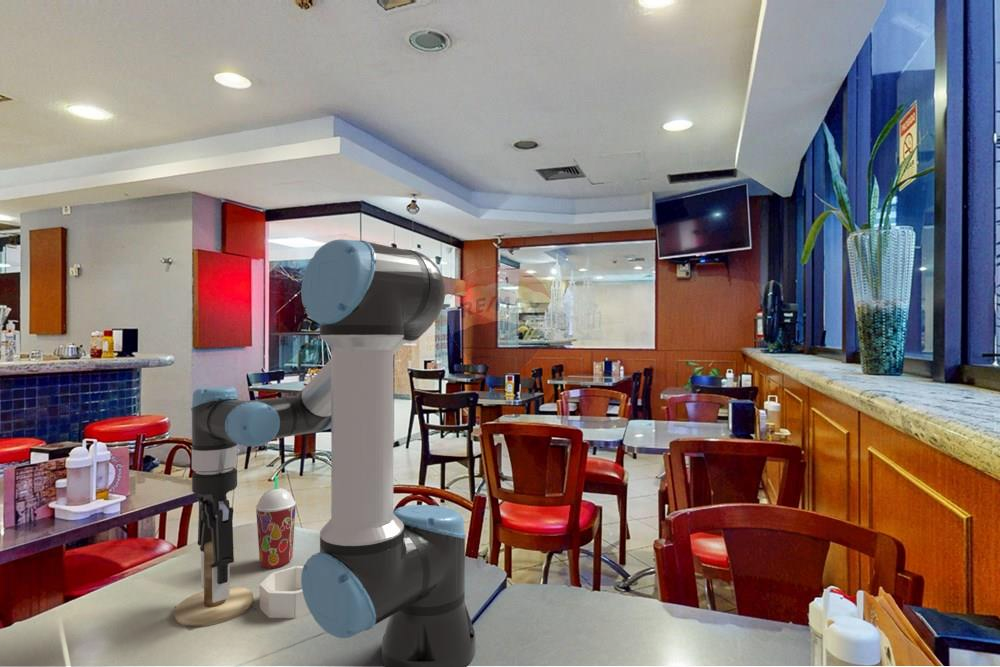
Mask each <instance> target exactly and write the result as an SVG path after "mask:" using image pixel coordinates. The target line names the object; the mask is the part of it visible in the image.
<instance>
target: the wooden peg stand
mask: <svg viewBox="0 0 1000 667" xmlns="http://www.w3.org/2000/svg"><path fill="white" fill-rule="evenodd" d="M211 564H214V555H213V544H212V541H211V542H208V543H206V544H205V545H204V588H203V591H200V592H197V593H195V594H192V595H191V596H189V597H187V598H185V599H183V600H182V601H180V602H179V603H178V604H177V605H176V606H175V607H176V608H175V607H174V620H175V621H176V623H178V624H180V625H182V626H186V627H187V626H202V627H207V626H212V625H217V624H221V623H225V622H227V621H230V620H232V619H235V618H237V617H239V616H241V615H243V614H244V612H245V611H247V610H248V609H249V608H250V607H251V605H253V603H254V594H253V592H252V591H251V590H250V589H248V588H245V587H241V586H230V598H227V599H224V600H221V601H217V602H214V603H213V602H212V568H210V565H211ZM245 613H246V612H245Z"/></svg>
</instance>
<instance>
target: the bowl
mask: <svg viewBox="0 0 1000 667" xmlns="http://www.w3.org/2000/svg"><path fill="white" fill-rule="evenodd" d="M303 567H304V565H294V566H291V567H289V568H283V569H282V570H277V571H274V572H271V573H270V574H269V575H267V577H265V579H263V581H261V582H260V583H259V609H260V610H261V611H262V612H263V613H264V614H265V616H267V618H269V619H270V618H271V619H296V618H297V619H298V618H301V617H303V616H305V615H308V614H309V615H310V614H311V613H310V611H309V609H308V607H307V604H306V602H305V599H304V595H303V591H302V584H301V575H302V570H303Z"/></svg>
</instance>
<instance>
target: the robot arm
mask: <svg viewBox="0 0 1000 667" xmlns="http://www.w3.org/2000/svg"><path fill="white" fill-rule="evenodd" d="M301 282H302V283H301V288H300V290H301V292H300V293H301V303H302V305H303V308H305V309H306V310H305V313H306V315H307V316H308V317H309V319H311V320H312V321H313V322H316V323H317V324H318V325H319V337H320V339H321V340H322V341H323V342H325V344H327V346H328V347H329V348H330V351H331V353H330V355H331V356H330V357H331V358H330V359H329V360H328V361H327V362H326V363H325V364H324V365H323V367H321V369H320V370H319V371H318V372H317V373H316V374H315V375H314V376H313V377H312V378H311V380H310V381H308V383H307V384H306V385H305V386H304V388H302V389H301V390H300V392H298V393H297V394H296V395H292V396H281V397H273V398H264V399H263V398H262V399H254V400H253V399H252V400H239V396H238V391H237V389H236V388H235V387H233V386H226V385H225V386H219V385H218V386H205V387H200V388H196V389H195V390H194V391H193V393H192V405H191V408H190V409H191V430H192V431H191V435H192V436H191V438H192V439H191V440H192V442H191V443H192V444H191V445H192V447H191V470H193V471H194V472H193V473H192V474H191V491H192V493H193V494H195V495H197V496H198V498H197V501H198V521H197V522H198V524H197V526H198V528H197V529H198V530H197V545H198V546H200V547H199V550H200V552H201V553H200V560H201V561H200V573H201V574H200V587H201V589H204V545H205V544H206V543H208V542H211V541H212V544H213V555H214V564H211V565H210V568H212V602H213V603H214V602H217V601H221V600H224V599H227V598H230V587H231V586H230V568H231V567H230V564H232V563H234V562H235V558H234V557H235V555H234V531H233V530H234V529H233V526H234V525H233V524H234V523H233V520H234V519H233V517H234V508H233V506H230V500H229V499H228V497H227V494H228V493H230V492H232V491H234V490H235V489H236V488H238V469H237V468H236V466H237V465H238V454H240V451H241V450H240V449H239V448H238V445H239V446H244V447H262V446H265V445H267V444H268V443H270V442H271V441H272V440H277V439H285V438H286V437H293V436H300V435H306V434H307V435H308V434H317V433H321V432H323V431H327V430H330V432H331V433H330V434H331V435H330V437H331V440H330V442H331V444H330V446H331V448H330V449H331V451H330V452H331V453H330V455H331V456H330V457H331V459H330V460H331V468H330V469H331V470H330V471H331V472H330V474H331V477H330V478H331V481H330V482H331V483H330V484H331V487H330V488H331V489H330V490H331V495H330V497H331V500H330V501H331V502H330V503H331V504H330V506H331V507H330V515H331V516H330V519H329V521H327V522H326V523H325V524H324V526H323V527H322V528H321V529H320V531H319V552H317V553H315V554H312V555H311V557H309V558H308V559H307V560H306V562H305V564H304V565H303V566H304V567H303V570H302V575H301V584H302V591H303V595H304V599H305V602H306V604H307V607H308V609H309V611H310V613H309V614H311V616H312V617H313V619H314V621H315V622H316V623H317V625H318V626H319V627H321V629H323V631H325V632H326V633H327V634H329V635H331V636H333V637H335V638H339V639H348V638H351V637H354V636H356V635H358V634H360V633H362V632H364V631H370V630H371V629H373V628H374V626H375V625H377V624H379V623H381V622H382V621H384V620H386V619H387V618H388V620H387V624H386V628H385V631H384V632H385V633H384V634H383V637H382V640H381V660H382V663H383V664H384V666H385V667H467V666H468V665H469V664H470V663H471V662H472V661H473V659H474V657H475V655H476V649H477V647H476V646H477V645H476V644H477V643H476V632H475V629H474V626H473V623H472V620H471V616H470V614H469V610H468V607H467V604H466V598H465V596H466V595H465V593H466V591H465V590H466V589H465V587H466V586H465V585H466V584H465V583H466V581H465V580H466V578H465V577H466V576H465V574H466V573H465V572H466V569H465V568H466V538H467V536H466V534H465V533H466V532H465V520H464V517H463V516H462V514H461V513H460V512H458V511H457V510H455V509H452V508H449V507H446V506H440V505H430V504H429V505H428V504H413V505H405V506H400V507H398V508H395V509H394V355H395V354H396V352H398V351H399V350H401V348H402V347H403V346H404V344H406V343H407V342H408V343H412V342H416V341H417V340H418V339H420V337H422V336H423V335H424V333H426V332H427V330H429V328H431V327H432V325H433V324H434V323H435V321H436V320H437V319H438V317H439V315H440V314H441V311H442V309H443V307H444V304H445V299H446V285H445V280H444V277H443V274H442V272H441V271H440V268H439V267H438V266H437V265H436V263H435V262H434V261H433V259H430V257H428V256H426V255H425V254H423V253H421V252H420V251H416V250H413V249H404V248H403V249H402V248H399V247H393V246H388V245H383V244H380V243H374V242H369V241H366V240H357V239H356V240H354V239H335V240H331V241H328V242H327V243H324V244H323V245H321V247H320V248H318V249H317V250H316V251H315V252H314V254H313V256H312V258H310V260H309V261H308V263H307V266H306V267H305V269H304V274H303V277H302V281H301Z"/></svg>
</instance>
